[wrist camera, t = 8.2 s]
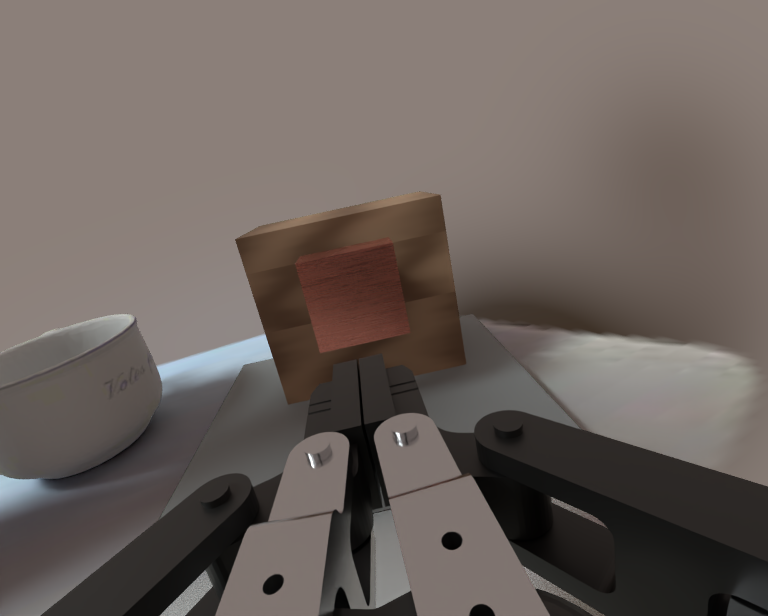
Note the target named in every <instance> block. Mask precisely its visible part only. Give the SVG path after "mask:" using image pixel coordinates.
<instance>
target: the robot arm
mask: <svg viewBox="0 0 768 616" xmlns="http://www.w3.org/2000/svg"><path fill="white" fill-rule="evenodd" d="M380 487H381V489H380ZM381 491H382V495H383V499H384V503H385V507H387V506H391V510H392V514H393V518H394V523H395V527H396V531H397V535H398V539H399V543H400V547H401V551H402V555H403V559H404V563H405V567H406V571H407V575H408V579H409V583H410V587H411V591H410V592H408V593H406V594H404V595H402V596H400V597H398V598H397V599H395V600H393V601H391V602H389V603H387V604H385V605H383V606H381V607H379V608H376V540H375V535H374V531H373V511H372V510H375V509H379V508H383V505H382V497H381ZM551 497H553V498H555V499H558V500H560V501H562V502H564V503H567V504H569V505H571V506H573V507H575V508H578V509H580V510H582V511H584V512H587V513H589V514H591V515H593V516H595V517H596V518H598V519H599V520H600V521H602V522H603V523H604V524H605V525H606V526H607V528H606V527H603V526H601V525H599V524H597V523H595V522H592V521H590V520H588V519H586V518H584V517H582V516H579V515H577V514H575V513H573V512H571V511H568V510H566V509H564V508H562V507H560V506H558V505H555V504H553V503H552V502H551ZM522 565H523V566H524V567H526V568H528V569H529V570H531V571H533V572H534V573H536V574H538V575H539V576H541V577H543V578H544V579H546V580H548V581H549V582H551V583H553V584H554V585H556V586H557V587H559V588H561V589H562V590H564V591H566V592H567V593H569V594H571V595H572V596H574V597H576V598H577V599H579V600H581V601H582V602H584V603H586V604H587V605H589V606H591V607H592V608H594V609H595V610H597V611H599V612H600V613H602V614H604V615H605V616H768V487H767V486H764V485H761V484H757V483H754V482H751V481H748V480H744V479H741V478H738V477H735V476H731V475H728V474H725V473H721V472H718V471H715V470H712V469H708V468H705V467H702V466H699V465H695V464H692V463H689V462H686V461H682V460H679V459H676V458H673V457H669V456H666V455H663V454H659V453H656V452H653V451H650V450H646V449H643V448H640V447H637V446H633V445H630V444H627V443H624V442H620V441H617V440H614V439H610V438H607V437H604V436H601V435H597V434H594V433H591V432H588V431H584V430H581V429H578V428H575V427H571V426H568V425H565V424H562V423H558V422H555V421H552V420H548V419H545V418H542V417H539V416H535V415H532V414H529V413H526V412H522V411H516V410H502V411H497V412H493V413H490V414H488V415H486V416H484V417H483V418H481V419H480V420H479V421H478V422H477V424H476V425H475V428H474V433H456V432H449V431H445V430H443V429H440V428H438V427H437V426H436V425H435V423H434V421H433V420H432V419H431V418H429V416H428V413H427V410H426V407H425V405H424V402H423V399H422V396H421V394H420V391H419V388H418V385H417V383H416V380H415V377H414V374H413V372H412V370H410V369H409V368H407V367H405V366H404V365H399V366H395V367H391V368H386V369H385V364H384V360H383V356H382V353H381V354H376V355H372V356H367V357H363V358H359V363H358V360H357V359H355V360H350V361H346V362H342V363H337V364H333V376H332V381H330V382H326V383H322V384H319V385H318V386H317V387H316V389H315V390H314V391H313V392H312V394H311V396H310V403H309V409H308V416H307V422H306V428H305V435H304V440H303V441H301V442H300V443H299V444H297V445H296V446H295V447H294V448H293V449H292V451H291V452H290V454H289V456H288V459H287V462H286V465H285V468H284V472H282V473H281V474H279V475H277V476H275V477H273V478H271V479H269V480H267V481H265V482H263V483H260V484H258V485H256V486H254V487H253V486H252V483H251V481H250V479H249V478H248V477H247V476H246V475H244V474H240V473H231V474H226V475H222V476H219V477H217V478H214V479H212V480H210V481H208V482H207V483H205V484H204V485H202V486H201V487H199V488H198V489H197V490H195V491H194V492H193V493H192V494H190V495H189V496H188V497H187V498H185V499H184V500H183V501H182V502H181V503H179V504H178V505H177V506H176V507H174V508H173V509H172V510H171V511H169V512H168V513H167V514H166V515H164V516H163V517H162V518H161V519H160V520H158V521H157V522H156V523H155V524H153V525H152V526H151V527H150V528H148V529H147V530H146V531H145V532H143V533H142V534H141V535H140V536H138V537H137V538H136V539H135V540H134V541H132V542H131V543H130V544H129V545H127V546H126V547H125V548H124V549H122V550H121V551H120V552H119V553H117V554H116V555H115V556H114V557H113V558H111V559H110V560H109V561H108V562H106V563H105V564H104V565H103V566H101V567H100V568H99V569H98V570H96V571H95V572H94V573H93V574H91V575H90V576H89V577H88V578H87V579H85V580H84V581H83V582H82V583H80V584H79V585H78V586H77V587H75V588H74V589H73V590H72V591H70V592H69V593H68V594H67V595H66V596H64V597H63V598H62V599H61V600H59V601H58V602H57V603H56V604H54V605H53V606H52V607H51V608H49V609H48V610H47V611H46V612H44V613H43V614H42V615H41V616H159V615H160V614H161V613H162V612H163V611H164V610H165V609H166V608H167V607H168V606H169V605H170V604H171V603H172V602H173V601H174V600H175V599H176V598H178V597H179V596H180V595H181V594H182V593H183V592H184V591H185V590H186V589H187V588H188V587H189V586H190V585H191V584H192V583H193V582H194V581H195V580H196V579H197V578H198V577H199V576H200V575H201V574H202V573H203V572H204V571H205V570H206V572H207V574H208V576H209V579H210V581H211V583H212V585H213V587H212V588H211V589H210V590H209V591H208V592H207V593H206V594H205V595H204V597H203V598H202V599H201V600H200V601H199V602H198V603H197V604H196V605H195V606H194V607H193V608H192V609H191V610H190V611H189V612H188V613H187V614H186V615H185V616H593V615H591V614H590V613H588V612H586V611H585V610H583V609H582V608H580V607H578V606H577V605H575V604H573V603H571V602H569V601H567V600H565V599H563V598H561V597H559V596H556V595H553V594H551V593H548V592H546V591H542V590H539V589H535V588H534V586H533V584H532V582H531V581H530V579H529V577H528V575H527V573H526V572H525V570H524V568H523V566H522Z"/></svg>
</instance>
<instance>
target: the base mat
mask: <svg viewBox="0 0 768 616" xmlns="http://www.w3.org/2000/svg"><path fill="white" fill-rule="evenodd" d="M459 319H460V325H461V332H462V338H463V345H464V351H465V357H466V364H465V365H461V366H456V367H452V368H448V369H443V370H439V371H434V372H430V373H426V374H421V375H417V376H414V377H415V380H416V383H417V385H418V388H419V391H420V394H421V396H422V399H423V402H424V405H425V407H426V410H427V413H428V416H429V418H431V419H432V420H433V421H434V423H435V425H436V426H437V427H438V428H440V429H443V430H445V431H449V432H456V433H474V428H475V425H476V424H477V422H478V421H479V420H480V419H481V418H483V417H484V416H486V415H488V414H490V413H493V412H497V411H502V410H516V411H522V412H526V413H529V414H532V415H535V416H539V417H542V418H545V419H548V420H552V421H555V422H558V423H562V424H565V425H568V426H571V427H575V428H578V429H581V428H580V427H579V426H578V425H577V424H576V423H575V422H574V421H573V420H572V419H571V418H570V417H569V416H568V415H567V414H566V413H565V411H564V410H563V409H562V408H561V407H560V406H559V405H558V404H557V403H556V402H555V401H554V400H553V399H552V398H551V397H550V396H549V394H548V393H547V392H546V391H545V390H544V389H543V388H542V387H541V386H540V385H539V384H538V383H537V382H536V381H535V380H534V379H533V377H532V376H531V375H530V374H529V373H528V372H527V371H526V370H525V369H524V368H523V367H522V366H521V365H520V364H519V363H518V362H517V360H516V359H515V358H514V357H513V356H512V355H511V354H510V353H509V352H508V351H507V350H506V349H505V348H504V347H503V346H502V345H501V343H500V342H499V341H498V340H497V339H496V338H495V337H494V336H493V335H492V334H491V333H490V332H489V331H488V330H487V329H486V328H485V326H484V325H483V324H482V323H481V322H480V321H479V320H478V319H477V318H476V317H475V316H474V315H473V314H470V315H465V316H461V317H459ZM309 403H310V400H307V401H302V402H298V403H293V404H289V405H288V403H287V400H286V397H285V394H284V390H283V387H282V384H281V381H280V378H279V375H278V372H277V369H276V365H275V362H274V359H269V360H264V361H260V362H256V363H251V364H247V365H244V366H243V368H242V369H241V371H240V373H239V375H238V377H237V379H236V380H235V382H234V384H233V386H232V388H231V389H230V391H229V393H228V395H227V397H226V399H225V400H224V402H223V404H222V406H221V408H220V409H219V411H218V413H217V415H216V417H215V418H214V420H213V422H212V424H211V426H210V428H209V429H208V431H207V433H206V435H205V437H204V438H203V440H202V442H201V444H200V446H199V447H198V449H197V451H196V453H195V455H194V457H193V458H192V460H191V462H190V464H189V466H188V467H187V469H186V471H185V473H184V475H183V476H182V478H181V480H180V482H179V484H178V486H177V487H176V489H175V491H174V493H173V495H172V496H171V498H170V500H169V502H168V504H167V506H166V507H165V509H164V511H163V513H162V515H161V516H160V518H159V520H160V519H161V518H162V517H163V516H164V515H166V514H167V513H168V512H169V511H171V510H172V509H173V508H174V507H176V506H177V505H178V504H179V503H181V502H182V501H183V500H184V499H185V498H187V497H188V496H189V495H190V494H192V493H193V492H194V491H195V490H197V489H198V488H199V487H201V486H202V485H204V484H205V483H207V482H208V481H210V480H212V479H214V478H217V477H219V476H222V475H226V474H231V473H240V474H244V475H246V476H247V477H248V478H249V479H250V481H251V483H252V486H253V487H254V486H256V485H258V484H260V483H263V482H265V481H267V480H269V479H271V478H273V477H275V476H277V475H279V474H281V473H282V472H284V468H285V465H286V462H287V459H288V456H289V454H290V452H291V451H292V449H293V448H294V447H295V446H296V445H297V444H299V443H300V442H301V441H303V440H304V435H305V428H306V422H307V416H308V409H309ZM380 489H381V487H380ZM381 497H382V505H383V508H379V509H375V510H372V511H373V513H375V512H379V511H383V510H387V509H391V506H387V507H385V503H384V499H383V495H382V491H381Z"/></svg>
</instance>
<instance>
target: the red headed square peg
mask: <svg viewBox="0 0 768 616" xmlns="http://www.w3.org/2000/svg"><path fill="white" fill-rule="evenodd" d="M295 265H296V269H297V272H298V276H299V279H300V283H301V287H302V290H303V294H304V297H305V301H306V305H307V308H308V312H309V315H310V319H311V323H312V326H313V330H314V333H315V337H316V340H317V344H318V348H319V351H320V353H324V352H328V351H332V350H337V349H341V348H346V347H350V346H355V345H359V344H364V343H368V342H373V341H377V340H381V339H386V338H390V337H395V336H399V335H404V334H408V333H411V332H410V327H409V322H408V317H407V312H406V307H405V302H404V297H403V292H402V287H401V281H400V276H399V271H398V266H397V261H396V256H395V251H394V246H393V242H392V241H391V239H390V238H389V237H387V238H382V239H378V240H373V241H368V242H364V243H359V244H355V245H350V246H346V247H341V248H336V249H332V250H327V251H323V252H318V253H314V254H309V255H304V256H300V257H299V258H298V260H297V262H296V263H295Z"/></svg>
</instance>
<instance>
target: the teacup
mask: <svg viewBox="0 0 768 616" xmlns="http://www.w3.org/2000/svg"><path fill="white" fill-rule="evenodd" d="M161 397H162V382H161V378H160V375H159V372H158V370H157V367H156V365H155V362H154V360H153V358H152V355H151V353H150V351H149V349H148V347H147V345H146V343H145V341H144V339H143V337H142V335H141V333H140V331H139V329H138V327H137V320H136V317H134V316H133V315H129V314H117V315H111V316H105V317H101V318H96V319H92V320H89V321H85V322H81V323H78V324H75V325H71V326H68V327H66V328H62V329H53V330H51V331H48V332H46V333H44V334H43V335H42V336H40V337H37V338H35V339H31V340H29V341H26V342H24V343H21V344H19V345H16V346H13V347H11V348H9V349H7V350H4V351H2V352H0V474H1V475H3V476H6V477H9V478H15V479H38V478H44V479H57V478H64V477H68V476H72V475H75V474H78V473H81V472H84V471H86V470H88V469H91V468H93V467H95V466H98V465H100V464H101V463H103V462H105V461H107V460H108V459H110V458H112V457H114V456H115V455H117V454H118V453H120V452H121V451H123V450H124V449H125V448H127V447H128V446H129V445H131V444H132V443H133V442H134V441H135V440H136V439H138V438H139V436H140V435H141V434H142V433H143V432H144V431H145V429H146V428H147V426H148V425H149V423H150V421H151V417H152V416H153V414H154V413H155V411H156V409H157V407H158V406H159V403H160V400H161Z"/></svg>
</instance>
